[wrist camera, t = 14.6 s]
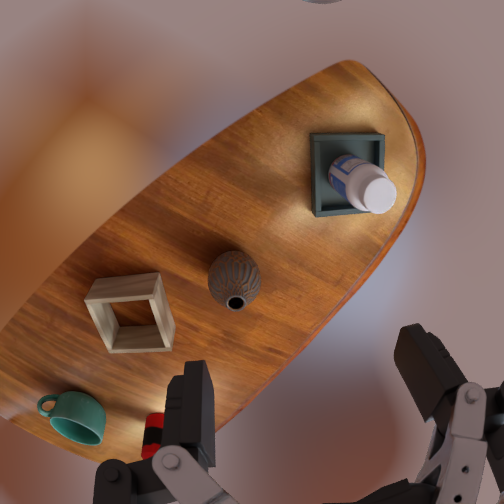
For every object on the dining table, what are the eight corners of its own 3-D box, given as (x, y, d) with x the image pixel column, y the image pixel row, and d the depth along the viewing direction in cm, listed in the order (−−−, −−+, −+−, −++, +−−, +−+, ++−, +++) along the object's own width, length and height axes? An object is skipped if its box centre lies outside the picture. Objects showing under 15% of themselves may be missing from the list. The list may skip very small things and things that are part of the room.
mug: (116, 401, 58) (108, 436, 49) (101, 420, 62) (94, 450, 53) (51, 367, 52) (36, 400, 43) (43, 390, 56) (32, 419, 48)
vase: (248, 236, 41) (254, 270, 34) (264, 276, 45) (272, 315, 37) (201, 253, 42) (196, 290, 34) (220, 291, 45) (220, 331, 37)
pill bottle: (357, 197, 39) (390, 226, 31) (322, 187, 38) (349, 215, 30) (370, 160, 37) (408, 180, 28) (334, 147, 36) (367, 164, 27)
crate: (95, 278, 42) (83, 299, 38) (159, 271, 43) (152, 294, 38) (117, 330, 47) (109, 353, 43) (175, 326, 48) (172, 351, 43)
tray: (309, 133, 35) (313, 135, 34) (378, 132, 36) (385, 134, 34) (311, 212, 40) (315, 217, 39) (375, 206, 41) (381, 211, 39)
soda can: (158, 409, 59) (153, 454, 49) (184, 422, 62) (182, 465, 52) (140, 418, 61) (134, 461, 51) (165, 430, 64) (161, 471, 54)
